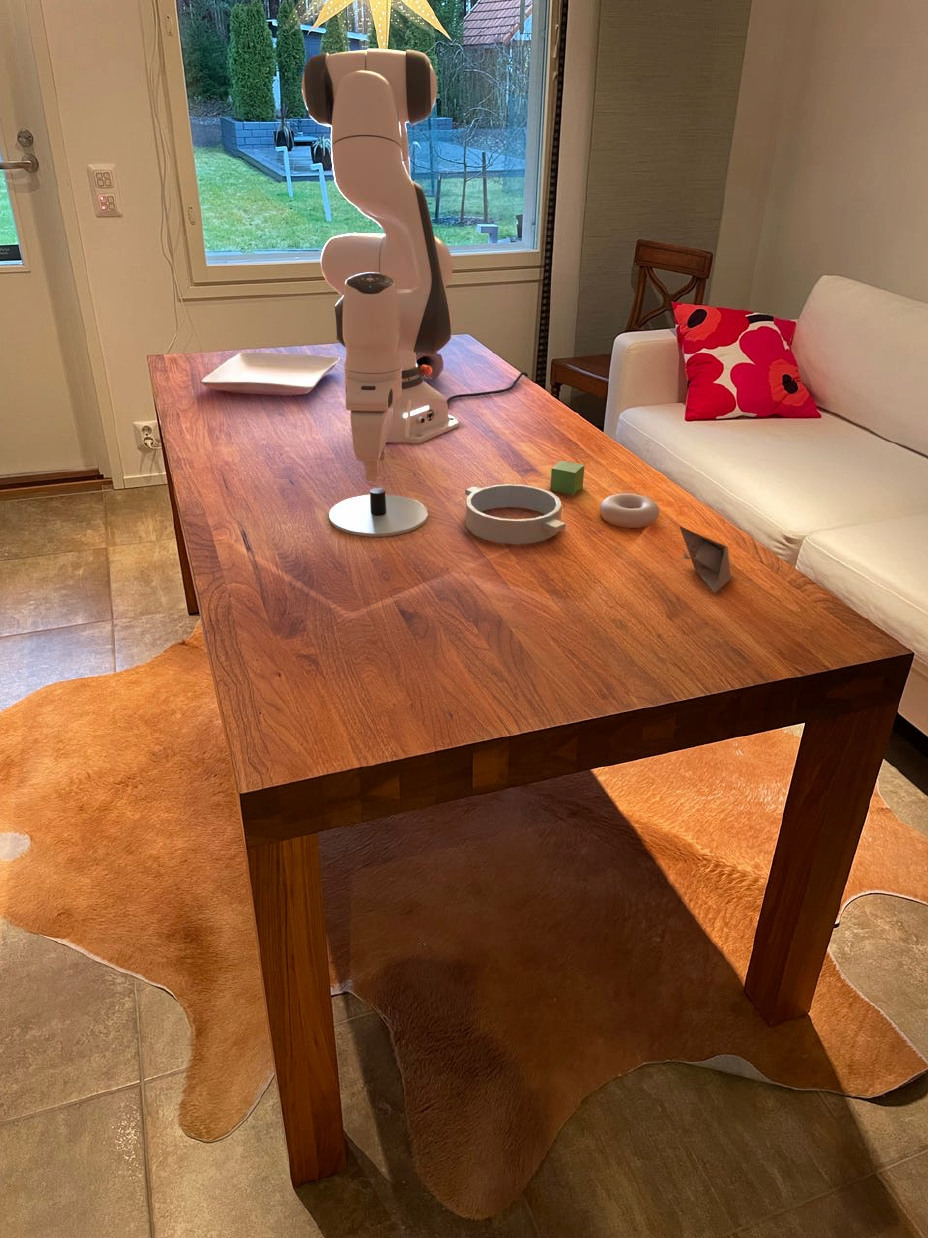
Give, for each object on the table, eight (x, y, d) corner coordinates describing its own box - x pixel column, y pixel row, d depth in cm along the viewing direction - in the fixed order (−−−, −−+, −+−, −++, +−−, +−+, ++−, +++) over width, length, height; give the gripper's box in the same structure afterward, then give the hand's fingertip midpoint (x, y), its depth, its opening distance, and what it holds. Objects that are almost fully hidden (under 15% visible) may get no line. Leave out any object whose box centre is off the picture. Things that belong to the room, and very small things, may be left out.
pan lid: (386, 492, 166) (385, 465, 163) (448, 521, 155) (448, 492, 153) (309, 517, 156) (307, 488, 153) (369, 549, 145) (368, 519, 143)
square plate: (240, 365, 240) (238, 350, 238) (342, 370, 236) (342, 355, 235) (200, 394, 216) (198, 378, 214) (313, 401, 213) (312, 384, 211)
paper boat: (757, 578, 136) (719, 579, 130) (726, 602, 140) (689, 604, 135) (718, 513, 141) (680, 512, 135) (690, 538, 145) (652, 538, 139)
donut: (653, 536, 152) (662, 512, 160) (655, 517, 150) (664, 494, 158) (593, 527, 154) (605, 504, 162) (595, 508, 153) (607, 486, 161)
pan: (501, 496, 165) (502, 472, 163) (591, 533, 152) (593, 508, 150) (436, 519, 156) (436, 495, 154) (525, 561, 143) (526, 534, 140)
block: (559, 483, 171) (561, 460, 168) (582, 488, 169) (584, 464, 167) (549, 492, 167) (551, 468, 165) (573, 497, 165) (575, 472, 163)
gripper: (362, 367, 153) (365, 447, 160) (343, 402, 135) (347, 491, 142) (400, 368, 153) (401, 448, 160) (386, 403, 135) (388, 492, 142)
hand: (376, 468), depth 151 cm, fingers open, 8 cm apart
